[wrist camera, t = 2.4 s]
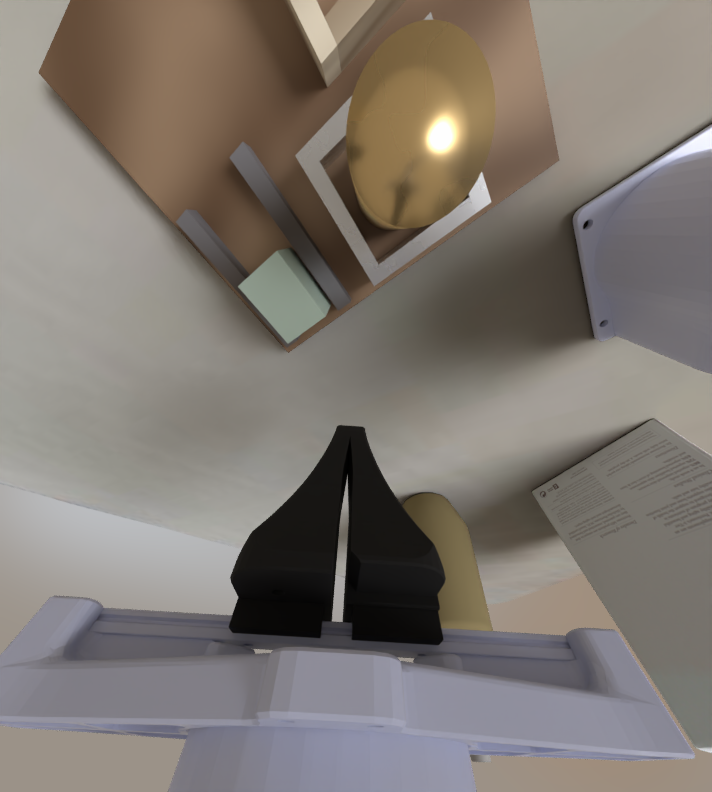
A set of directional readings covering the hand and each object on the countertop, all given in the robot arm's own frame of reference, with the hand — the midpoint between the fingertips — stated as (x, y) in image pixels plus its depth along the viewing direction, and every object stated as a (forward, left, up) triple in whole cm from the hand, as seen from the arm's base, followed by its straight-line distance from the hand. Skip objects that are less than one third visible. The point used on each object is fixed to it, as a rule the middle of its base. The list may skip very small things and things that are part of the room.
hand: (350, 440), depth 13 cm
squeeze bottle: (-21, +4, -9) cm, 23 cm away
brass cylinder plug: (+8, -8, -8) cm, 14 cm away
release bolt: (+7, 0, -8) cm, 11 cm away
